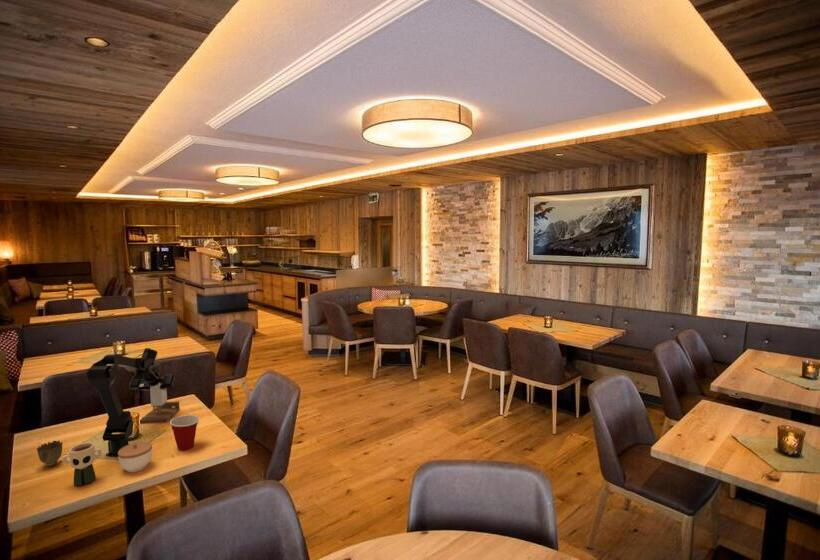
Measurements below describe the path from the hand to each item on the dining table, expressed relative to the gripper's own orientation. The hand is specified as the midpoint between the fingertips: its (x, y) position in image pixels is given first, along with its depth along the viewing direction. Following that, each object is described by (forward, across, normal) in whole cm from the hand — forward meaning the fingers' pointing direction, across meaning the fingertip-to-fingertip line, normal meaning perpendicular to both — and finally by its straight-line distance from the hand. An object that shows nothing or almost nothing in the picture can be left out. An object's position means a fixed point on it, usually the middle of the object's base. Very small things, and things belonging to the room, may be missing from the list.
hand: (159, 389), depth 202 cm
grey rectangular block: (+4, 0, +6) cm, 7 cm away
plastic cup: (-14, -25, +34) cm, 44 cm away
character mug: (-30, 0, +49) cm, 57 cm away
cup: (-20, +20, +39) cm, 49 cm away
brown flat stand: (+8, 0, +10) cm, 13 cm away
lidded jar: (-24, -13, +44) cm, 52 cm away
